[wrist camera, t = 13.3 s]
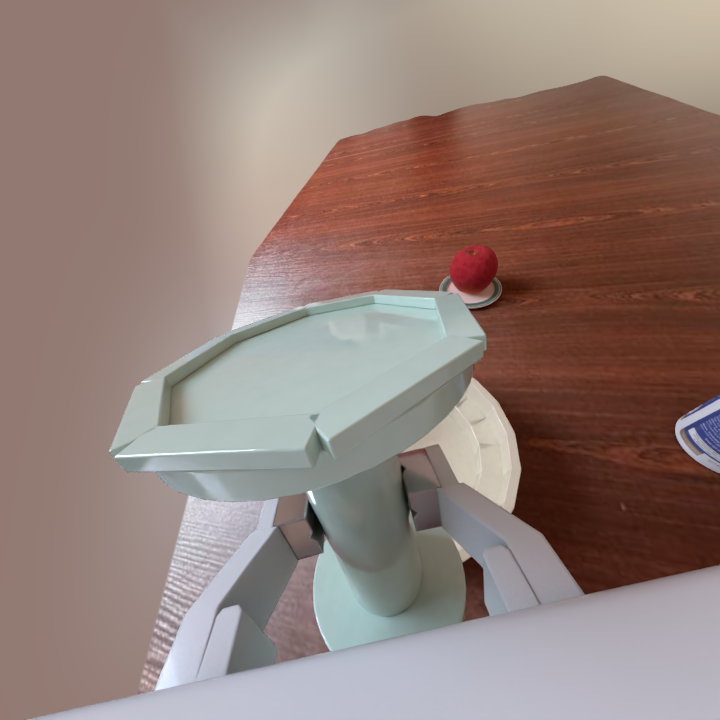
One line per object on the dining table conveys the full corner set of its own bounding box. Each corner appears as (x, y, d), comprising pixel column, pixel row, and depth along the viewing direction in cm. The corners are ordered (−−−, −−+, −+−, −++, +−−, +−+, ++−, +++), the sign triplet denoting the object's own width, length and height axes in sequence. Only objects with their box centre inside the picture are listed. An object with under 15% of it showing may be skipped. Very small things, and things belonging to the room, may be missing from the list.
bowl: (302, 545, 22) (272, 541, 18) (343, 383, 31) (329, 355, 27) (517, 595, 18) (545, 607, 13) (490, 389, 27) (502, 357, 23)
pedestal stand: (272, 700, 8) (4, 462, 4) (330, 497, 15) (254, 314, 10) (517, 756, 7) (560, 437, 2) (465, 498, 13) (446, 276, 8)
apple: (430, 302, 37) (430, 261, 32) (452, 269, 40) (455, 227, 35) (489, 317, 33) (501, 273, 28) (508, 279, 36) (521, 234, 31)
